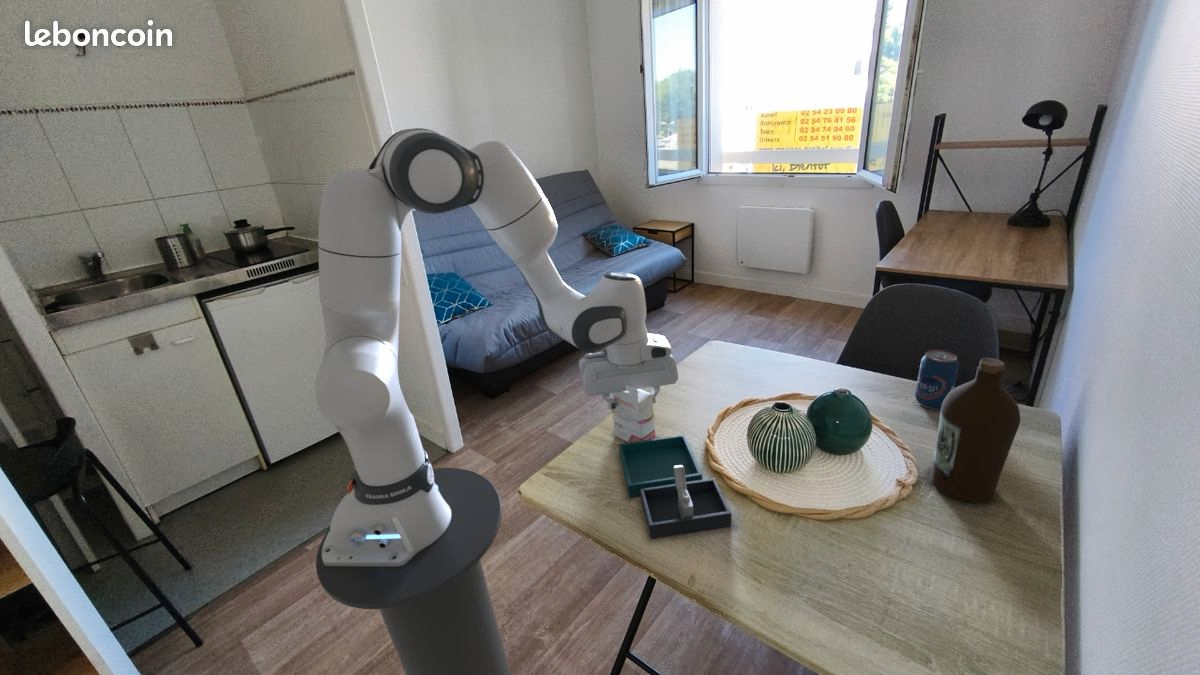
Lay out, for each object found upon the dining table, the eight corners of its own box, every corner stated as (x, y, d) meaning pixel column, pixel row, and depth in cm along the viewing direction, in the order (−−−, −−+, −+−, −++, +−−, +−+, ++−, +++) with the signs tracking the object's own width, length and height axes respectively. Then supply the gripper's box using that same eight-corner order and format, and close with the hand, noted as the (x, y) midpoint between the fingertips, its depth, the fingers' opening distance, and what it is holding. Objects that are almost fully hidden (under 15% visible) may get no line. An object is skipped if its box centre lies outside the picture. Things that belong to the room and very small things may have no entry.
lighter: (693, 525, 87) (693, 489, 84) (684, 526, 87) (682, 490, 84) (683, 496, 94) (682, 462, 90) (674, 498, 93) (672, 463, 90)
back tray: (629, 498, 95) (628, 485, 94) (619, 455, 107) (618, 443, 106) (702, 487, 96) (702, 474, 95) (684, 446, 108) (684, 434, 107)
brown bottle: (981, 467, 94) (1014, 347, 84) (1010, 508, 84) (1051, 379, 74) (917, 464, 96) (941, 347, 86) (939, 503, 87) (968, 377, 77)
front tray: (650, 539, 86) (649, 525, 85) (640, 501, 94) (639, 488, 93) (731, 527, 87) (731, 513, 85) (714, 490, 95) (714, 477, 94)
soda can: (908, 403, 114) (917, 356, 110) (920, 391, 118) (929, 345, 113) (943, 414, 109) (953, 366, 105) (954, 401, 113) (965, 354, 108)
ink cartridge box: (656, 439, 111) (653, 381, 105) (642, 450, 108) (637, 391, 102) (628, 425, 117) (623, 370, 111) (613, 435, 114) (607, 379, 108)
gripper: (578, 361, 100) (586, 419, 106) (678, 347, 101) (681, 406, 107) (576, 348, 106) (583, 404, 112) (671, 335, 107) (674, 391, 113)
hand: (632, 405), depth 109 cm, fingers closed on ink cartridge box, 7 cm apart
